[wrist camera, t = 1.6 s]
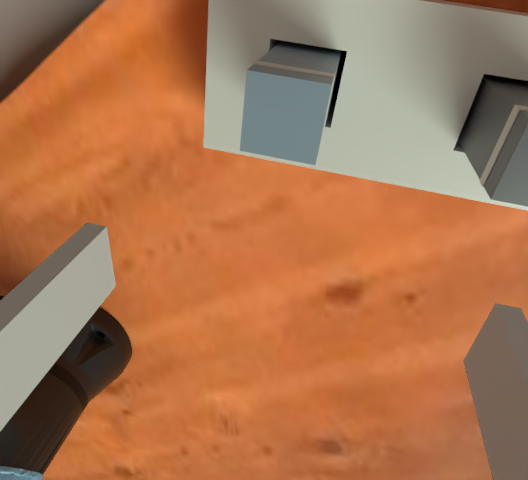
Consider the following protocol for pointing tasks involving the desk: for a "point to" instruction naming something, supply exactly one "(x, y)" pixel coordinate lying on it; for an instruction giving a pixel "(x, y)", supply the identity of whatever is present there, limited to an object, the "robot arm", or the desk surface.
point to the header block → (374, 81)
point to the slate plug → (289, 101)
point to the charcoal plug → (499, 138)
